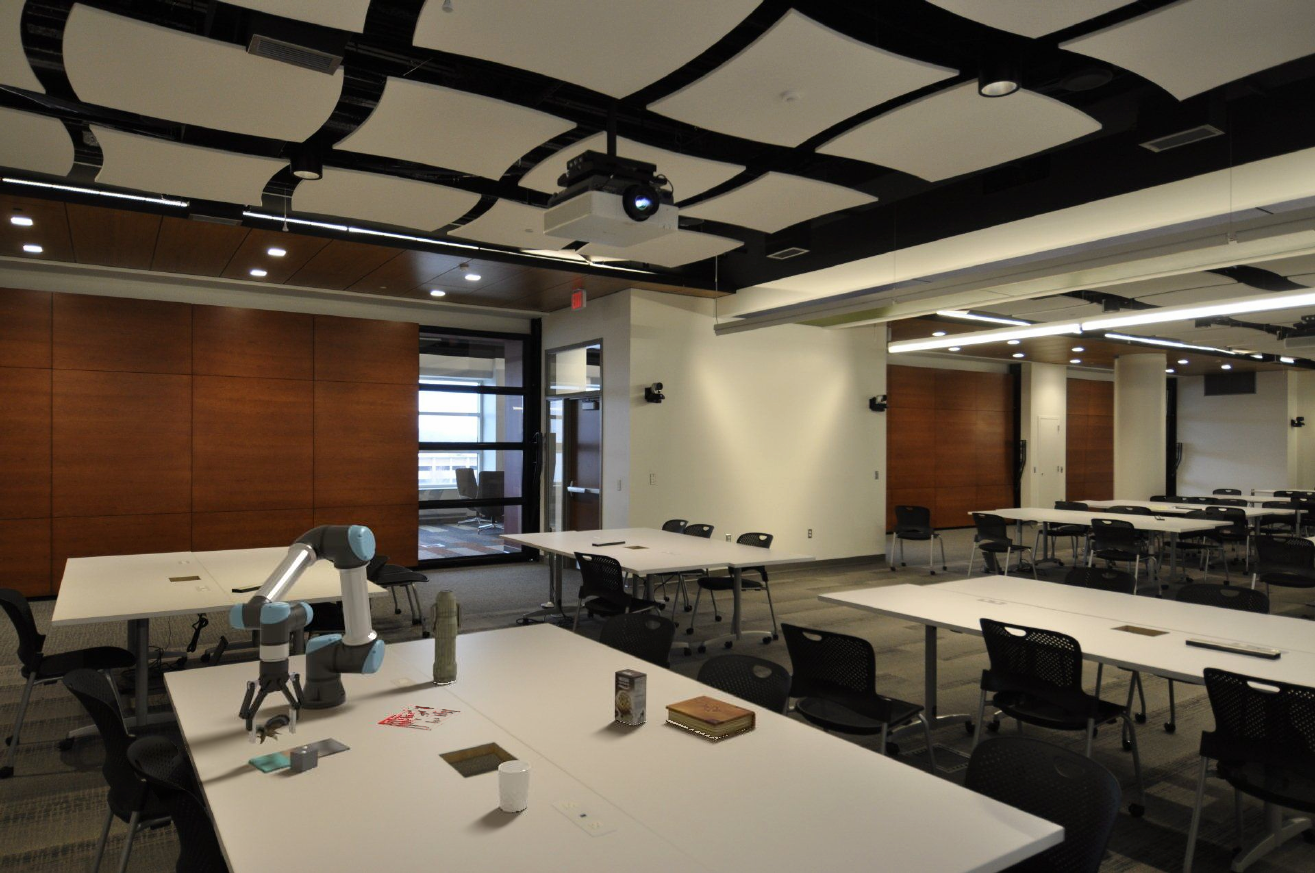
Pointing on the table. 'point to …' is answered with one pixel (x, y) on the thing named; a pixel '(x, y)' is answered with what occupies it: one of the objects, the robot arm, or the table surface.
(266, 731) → the dark olive curved figure
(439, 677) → the thermos
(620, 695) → the coffee box
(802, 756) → the table surface
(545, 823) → the table surface
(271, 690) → the robot arm
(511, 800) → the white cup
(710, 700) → the diary
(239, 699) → the table surface
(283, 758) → the track board
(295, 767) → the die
